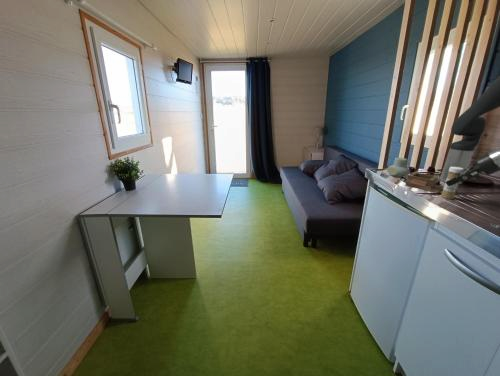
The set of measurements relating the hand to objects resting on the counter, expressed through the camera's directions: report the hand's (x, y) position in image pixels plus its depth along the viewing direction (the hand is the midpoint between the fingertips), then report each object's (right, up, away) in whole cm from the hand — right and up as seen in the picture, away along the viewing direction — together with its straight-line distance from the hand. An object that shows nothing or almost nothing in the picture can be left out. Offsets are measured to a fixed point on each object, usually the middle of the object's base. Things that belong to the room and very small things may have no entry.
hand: (448, 182), depth 99 cm
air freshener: (-2, +4, +32) cm, 32 cm away
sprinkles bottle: (+1, -7, +2) cm, 7 cm away
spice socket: (+1, -2, +14) cm, 15 cm away
